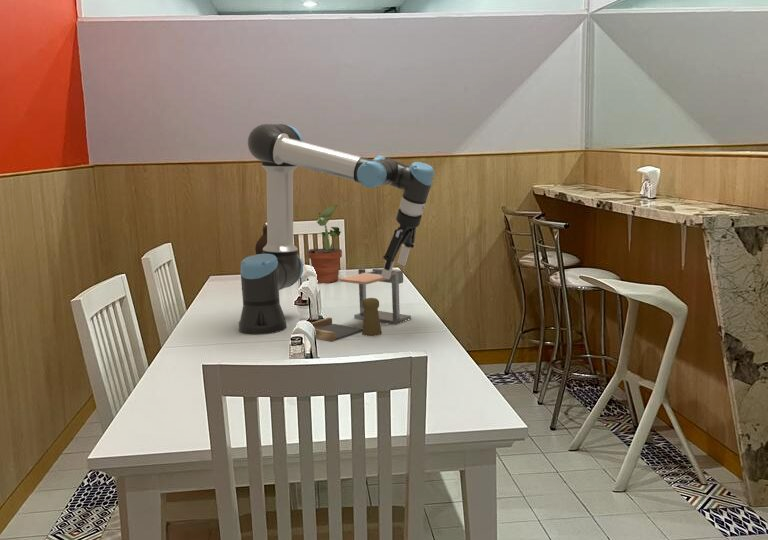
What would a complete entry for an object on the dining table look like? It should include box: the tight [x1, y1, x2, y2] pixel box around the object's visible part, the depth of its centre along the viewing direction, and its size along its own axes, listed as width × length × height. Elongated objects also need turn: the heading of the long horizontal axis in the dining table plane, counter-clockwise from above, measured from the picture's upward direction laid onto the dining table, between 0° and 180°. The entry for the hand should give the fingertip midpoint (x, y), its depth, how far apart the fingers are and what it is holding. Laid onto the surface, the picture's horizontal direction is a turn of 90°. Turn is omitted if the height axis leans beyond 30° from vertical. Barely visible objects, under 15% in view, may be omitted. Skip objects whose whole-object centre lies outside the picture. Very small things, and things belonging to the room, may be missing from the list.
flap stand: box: [353, 268, 412, 325], centre depth 246 cm, size 9×17×16 cm, turn 51°
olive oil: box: [254, 224, 267, 255], centre depth 316 cm, size 11×11×25 cm
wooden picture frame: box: [311, 316, 337, 342], centre depth 231 cm, size 15×14×2 cm
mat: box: [318, 323, 363, 341], centre depth 232 cm, size 13×13×1 cm
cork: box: [361, 297, 382, 337], centre depth 229 cm, size 6×6×11 cm
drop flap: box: [338, 267, 404, 286], centre depth 242 cm, size 19×12×4 cm, turn 141°
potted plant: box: [307, 204, 343, 284], centre depth 316 cm, size 16×15×35 cm
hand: (393, 270), depth 241 cm, fingers open, 13 cm apart
